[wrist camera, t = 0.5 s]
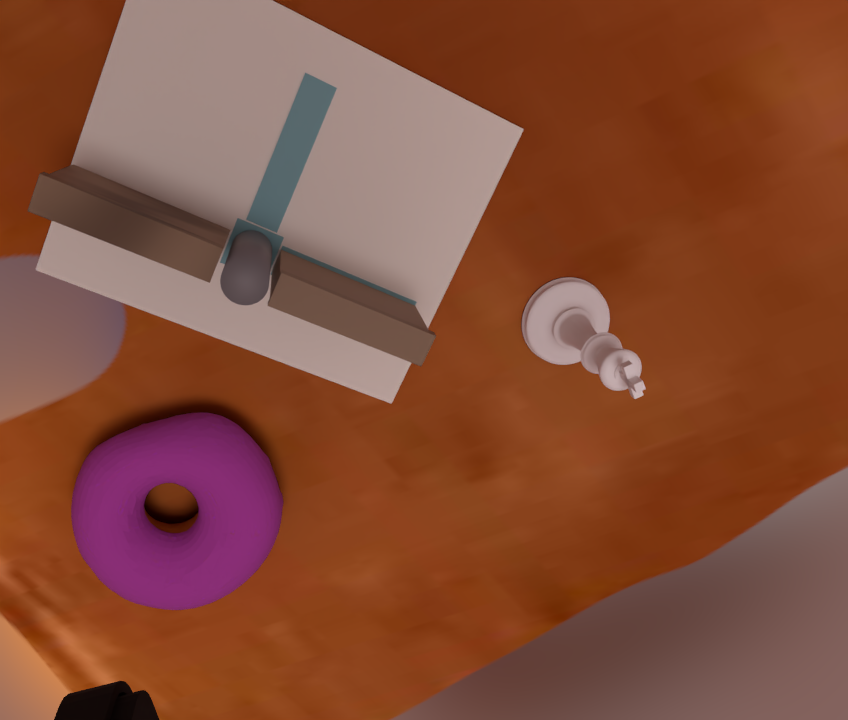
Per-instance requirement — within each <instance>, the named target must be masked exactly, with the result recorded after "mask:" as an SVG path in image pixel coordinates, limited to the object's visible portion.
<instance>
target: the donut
mask: <svg viewBox="0 0 848 720" xmlns="http://www.w3.org/2000/svg"><path fill="white" fill-rule="evenodd" d="M163 483H175V484H178V485H181V486H184V487H185V488H187V489H188V490H189V491H190V492H192V493H193V495H194V497H195V498H196V500H197V504H198V507H199V512H198V513H197V514H196V515H195V516H194V517H193V518H191V519H190V520H188V521H185V522H183V523H177V524H167V523H162V522H159V521H157V520H155V519H153V518H152V517H151V516H149V515H148V513H147V512H146V510H145V508H144V503H145V499H146V496H147V494H148V493H149V491H150V490H151V489H152V488H153V487H155V486H157V485H160V484H163ZM282 507H283V498H282V493H281V492H280V490H279V486H278V482H277V479H276V476H275V474H274V471H273V469H272V466H271V464H270V460H269V458H268V456H267V455H266V454H265V453H264V452H263V451H262V450H261V448H260V447H259V446H258V445H257V443H256V442H255V441H254V440H253V439H252V437H251V436H250V435H249V434H248V433H246V432H245V431H244V430H243V429H242V428H241V427H240V426H239V425H237V424H236V423H234V422H232V421H231V420H229V419H227V418H225V417H223V416H220V415H217V414H213V413H188V414H182V415H177V416H173V417H169V418H166V419H162V420H158V421H153V422H150V423H146V424H141V425H140V426H138V427H135V428H133V429H130V430H128V431H125V432H123V433H120V434H118V435H116V436H114V437H112V438H110V439H108V440H107V441H105V442H103V443H101V444H99V445H98V446H96V447H95V448H94V449H93V450H92V451H91V452H90V453H89V455H88V456H87V458H86V459H85V461H84V463H83V465H82V467H81V470H80V472H79V474H78V477H77V480H76V484H75V488H74V492H73V498H72V525H73V530H74V536H75V539H76V542H77V545H78V548H79V551H80V553H81V555H82V557H83V559H84V560H85V561H86V563H87V564H88V565H89V566H90V568H91V569H92V570H93V571H94V573H95V574H96V576H97V577H98V578H99V580H101V581H102V582H103V583H104V584H105V585H106V586H107V587H108V588H109V589H111V590H112V591H114V592H115V593H117V594H118V595H120V596H121V597H123V598H124V599H126V600H129V601H131V602H134V603H136V604H141V605H145V606H150V607H154V608H160V609H171V610H183V609H190V608H196V607H199V606H203V605H206V604H209V603H212V602H214V601H216V600H218V599H220V598H222V597H224V596H226V595H228V594H229V593H231V592H232V591H234V590H235V589H237V588H238V587H239V586H241V585H242V584H243V583H244V582H246V581H247V580H248V579H249V578H250V577H251V576H252V575H253V574H254V573H255V572H256V571H257V570H258V568H259V567H260V566H261V564H262V563H263V562H264V560H265V559H266V558H267V556H268V554H269V552H270V551H271V549H272V547H273V545H274V542H275V540H276V537H277V534H278V532H279V527H280V523H281V516H282Z"/></svg>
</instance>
